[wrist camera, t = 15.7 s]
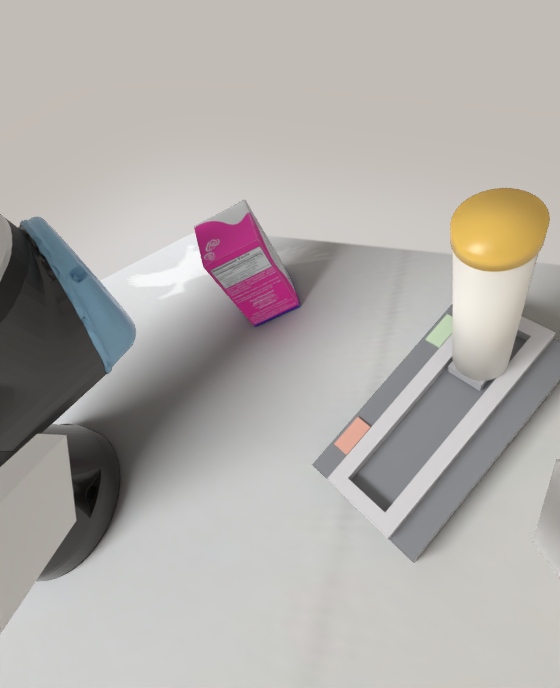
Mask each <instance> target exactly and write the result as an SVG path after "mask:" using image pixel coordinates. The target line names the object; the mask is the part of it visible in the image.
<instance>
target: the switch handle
mask: <svg viewBox="0 0 560 688" xmlns="http://www.w3.org/2000/svg"><path fill="white" fill-rule="evenodd" d="M549 220H550V219H549V212H548V209H547V207H546V206H545V204H544V203H543V202H542V201H541V200H540V199H539V198H538V197H536V196H535V195H533V194H531V193H529V192H526V191H522V190H519V189H512V188H499V189H492V190H487V191H484V192H481V193H478V194H476V195H474V196H472V197H470V198H468V199H467V200H466V201H464V202H463V203H462V204H461V205H460V206H459V207H458V209H457V210H456V211H455V213H454V214H453V217H452V220H451V247H452V250H453V325H452V359H453V361H452V362H451V363H450V365H449V366H448V372H450V373H452V374H453V375H455V376H456V377H458V378H460V379H461V380H463V381H464V382H466V383H468V384H469V385H471V386H472V387H474V388H476V389H477V390H479V391H481V390H482V388H483V387H484V386H485V385H486V384H487V382H488V381H489V380H492V379H494V378H497V377H498V376H500V375H501V374H502V373H503V372H504V371H505V370H506V368H507V366H508V364H509V360H510V356H511V353H512V349H513V345H514V342H515V338H516V334H517V331H518V327H519V323H520V319H521V316H522V312H523V308H524V305H525V301H526V297H527V294H528V290H529V286H530V283H531V279H532V275H533V271H534V268H535V264H536V260H537V257H538V253H539V251H540V250H541V248H542V246H543V243H544V240H545V236H546V232H547V229H548V226H549Z"/></svg>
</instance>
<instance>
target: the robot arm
mask: <svg viewBox="0 0 560 688" xmlns="http://www.w3.org/2000/svg"><path fill="white" fill-rule="evenodd" d="M135 337H136V328H135V325H134V323H133V321H132V320H131V318H130V317H129V316H128V314H127V313H126V312H125V311H124V309H123V308H122V307H121V306H120V304H119V303H118V302H117V301H116V300H115V298H114V297H113V296H112V295H111V294H110V293H109V291H108V290H107V289H106V288H105V287H104V286H103V284H102V283H101V282H100V281H99V280H98V279H97V278H96V276H95V275H94V274H93V273H92V272H91V271H90V269H89V268H88V267H87V266H86V265H85V264H84V263H83V262H82V261H81V259H80V258H79V257H78V256H77V255H76V254H75V252H74V251H73V250H72V249H71V248H70V247H69V246H68V245H67V244H66V242H65V241H64V240H63V239H62V238H61V237H60V236H59V235H58V234H57V232H55V230H54V229H53V228H52V227H51V226H50V225H48V223H47V222H46V221H45V220H44V219H42V218H41V217H33V218H31V219H29V220H24V222H23V221H22V222H21V223H20V226H19V228H17V227H16V226H15V225H13V224H12V223H11V222H10V221H8V220H7V219H6V218H4V217H3V216H2V215H1V214H0V634H1V632H2V631H3V629H4V628H5V626H6V625H7V623H8V622H9V620H10V619H11V617H12V616H13V614H14V613H15V611H16V610H17V608H18V607H19V605H20V604H21V602H22V601H23V599H24V598H25V596H26V595H27V593H28V592H29V590H30V589H31V587H32V586H33V584H34V583H35V581H47V580H51V579H55V578H57V577H60V576H62V575H64V574H66V573H67V572H69V571H71V570H72V569H73V568H75V567H76V566H77V565H79V564H80V563H81V562H82V561H83V560H84V559H85V558H86V557H87V556H88V555H89V554H90V552H91V551H92V550H93V549H94V548H95V546H96V545H97V543H98V542H99V541H100V539H101V537H102V536H103V534H104V532H105V530H106V529H107V527H108V524H109V522H110V520H111V518H112V515H113V512H114V509H115V506H116V502H117V498H118V492H119V482H120V474H119V465H118V460H117V456H116V454H115V451H114V449H113V447H112V446H111V444H110V443H109V441H108V440H107V439H106V438H105V437H103V436H102V435H101V434H99V433H97V432H95V431H92V430H90V429H87V428H85V427H82V426H79V425H74V424H60V425H57V424H52V423H53V422H54V421H55V420H57V419H58V418H59V417H60V416H61V415H62V414H63V413H64V412H65V411H66V410H68V409H69V408H70V407H71V406H72V405H73V404H74V403H75V402H76V401H77V400H79V399H80V398H81V397H82V396H83V395H84V394H85V393H86V392H87V391H88V390H90V389H91V388H92V387H93V386H94V385H95V384H96V383H97V382H98V381H99V380H101V379H102V378H103V377H104V376H105V375H106V374H109V373H110V372H111V370H112V367H113V366H114V364H115V363H116V362H117V361H118V360H119V359H120V358H121V357H122V356H123V355H124V354H125V353H126V352H127V351H128V350H129V349H130V348H131V346H132V345H133V343H134V340H135ZM533 543H534V545H535V546H536V547H537V549H538V550H539V551H540V553H541V554H542V555H543V557H544V558H545V559H546V561H547V562H548V563H549V565H550V566H551V567H552V569H553V570H554V571H555V572H556V574H557V575H558V576H559V578H560V459H556V463H555V466H554V470H553V473H552V477H551V480H550V483H549V487H548V490H547V494H546V497H545V501H544V504H543V507H542V511H541V514H540V518H539V521H538V525H537V528H536V531H535V535H534V538H533Z"/></svg>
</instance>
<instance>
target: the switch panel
mask: <svg viewBox="0 0 560 688" xmlns="http://www.w3.org/2000/svg"><path fill="white" fill-rule="evenodd" d="M452 325H453V304H452V305H451V306H450V307H449V308H448V310H447V311H446V312H445V313H444V314H443V315H442V316H441V318H440V319H439V320H438V321H437V322H436V323H435V325H434V326H433V327H432V328H431V329H430V330H429V331H428V333H427V334H426V335H425V336H424V337H423V338H422V339H421V341H420V342H419V343H418V344H417V345H416V346H415V347H414V349H413V350H412V351H411V352H410V353H409V354H408V355H407V357H406V358H405V359H404V360H403V361H402V362H401V364H400V365H399V366H398V367H397V368H396V369H395V370H394V372H393V373H392V374H391V375H390V376H389V377H388V378H387V380H386V381H385V382H384V383H383V384H382V385H381V386H380V388H379V389H378V390H377V391H376V392H375V393H374V394H373V396H372V397H371V398H370V399H369V400H368V401H367V403H366V404H365V405H364V406H363V407H362V408H361V409H360V411H359V412H358V413H357V414H356V415H355V416H354V417H353V419H352V420H351V421H350V422H349V423H348V424H347V425H346V427H345V428H344V429H343V430H342V431H341V432H340V433H339V435H338V436H337V437H336V438H335V439H334V440H333V442H332V443H331V444H330V445H329V446H328V447H327V448H326V450H325V451H324V452H323V453H322V454H321V455H320V456H319V458H318V459H317V460H316V461H315V462H314V463H313V464H312V465H313V466H314V467H315V468H316V469H317V470H318V471H319V472H320V473H321V474H322V475H323V476H324V477H325V478H326V479H327V480H328V481H329V482H330V483H331V484H332V485H333V486H334V487H335V488H336V489H337V490H338V491H339V492H340V493H341V494H342V495H343V496H344V497H345V498H346V499H347V500H348V501H349V502H350V503H351V504H352V505H353V506H355V507H356V508H357V509H358V510H359V511H360V512H361V513H362V514H363V515H364V516H365V517H366V518H367V519H368V520H369V521H370V522H371V523H372V524H373V525H374V526H375V527H376V528H377V529H378V530H379V531H380V532H381V533H382V534H383V535H384V536H386V537H387V538H388V539H389V540H390V541H391V542H392V543H394V544H395V545H396V546H397V547H398V548H399V549H400V550H401V551H402V552H403V553H404V554H405V555H406V556H407V557H408V558H409V559H410V560H411V561H412V562H415V561H416V560H417V559H418V557H419V556H420V555H421V554H422V552H423V551H424V550H425V549H426V547H427V546H428V545H429V544H430V542H431V541H432V540H433V539H434V537H435V536H436V535H437V534H438V532H439V531H440V530H441V529H442V527H443V526H444V525H445V524H446V522H447V521H448V520H449V519H450V517H451V516H452V515H453V514H454V512H455V511H456V510H457V509H458V507H459V506H460V505H461V504H462V502H463V501H464V500H465V499H466V497H467V496H468V495H469V494H470V492H471V491H472V490H473V489H474V487H475V486H476V485H477V484H478V482H479V481H480V480H481V479H482V477H483V476H484V475H485V474H486V472H487V471H488V470H489V469H490V467H491V466H492V465H493V464H494V463H495V461H496V460H497V459H498V458H499V456H500V455H501V454H502V453H503V451H504V450H505V449H506V448H507V446H508V445H509V444H510V443H511V441H512V440H513V439H514V438H515V436H516V435H517V434H518V433H519V431H520V430H521V429H522V428H523V426H524V425H525V424H526V423H527V421H528V420H529V419H530V418H531V416H532V415H533V414H534V413H535V411H536V410H537V409H538V408H539V406H540V405H541V404H542V403H543V401H544V400H545V399H546V398H547V396H548V395H549V394H550V393H551V391H552V390H553V389H554V388H555V386H556V385H557V384H558V383H559V381H560V342H559V341H557V340H555V339H554V336H555V334H556V332H554V331H552V330H550V329H548V328H546V327H543V326H541V325H539V324H537V323H535V322H533V321H531V320H529V319H527V318H525V317H523V316H521V319H520V323H519V327H518V331H517V334H516V338H515V342H514V345H513V349H512V353H511V356H510V360H509V364H508V366H507V368H506V370H505V371H504V372H503V373H502V374H501V375H500V376H498V377H497V378H494V379H492V380H489V381H488V382H487V384H486V385H485V386H484V387H483V388H482V390H481V391H479V390H477V389H476V388H474V387H472V386H471V385H469V384H468V383H466V382H464V381H463V380H461V379H460V378H458V377H456V376H455V375H453V374H452V373H450V372H448V366H449V365H450V363H451V362H452V361H453V359H452Z"/></svg>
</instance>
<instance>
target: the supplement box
mask: <svg viewBox="0 0 560 688" xmlns="http://www.w3.org/2000/svg"><path fill="white" fill-rule="evenodd" d="M194 229H195V233H196V237H197V241H198V246H199V250H200V254H201V259H202V263H203V267H204V268H205V270H206V271H207V272H208V273H209V274H210V275H211V276H212V278H213V279H214V280H215V281H216V282H217V283H218V285H219V286H220V287H221V288H222V289H223V290H224V292H225V293H226V294H227V295H228V296H229V297H230V299H231V300H232V301H233V302H234V303H235V304H236V306H237V307H238V308H239V309H240V310H241V311H242V313H243V314H244V315H245V316H246V317H247V318H248V320H249V321H250V322H251V323H252V324H253V325H254V327H256V326H258V325H261V324H263V323H265V322H267V321H269V320H272V319H274V318H276V317H278V316H280V315H283V314H285V313H287V312H289V311H292V310H294V309H297V308H299V307H300V302H299V299H298V296H297V294H296V291H295V288H294V286H293V283H292V281H291V278H290V276H289V273H288V271H287V269H286V268H285V266H284V265H283V263H282V261H281V260H280V258H279V256H278V255H277V253H276V251H275V250H274V248H273V246H272V244H271V243H270V241H269V239H268V238H267V236H266V234H265V233H264V231H263V229H262V228H261V226H260V224H259V222H258V221H257V219H256V217H255V216H254V214H253V212H252V211H251V209H250V207H249V206H248V204H247V202H246V200H242V201H241V202H239V203H237V204H235V205H233V206H232V207H230V208H228V209H226V210H225V211H223V212H221V213H219V214H217V215H215V216H213V217H211V218H209V219H207V220H206V221H203V222H202V223H200V224H198V225H196V226H195V227H194Z"/></svg>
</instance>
